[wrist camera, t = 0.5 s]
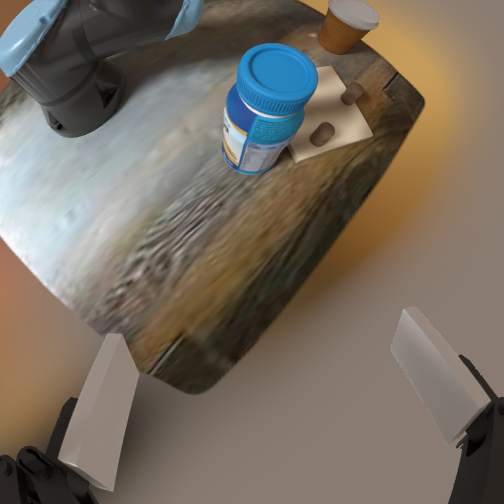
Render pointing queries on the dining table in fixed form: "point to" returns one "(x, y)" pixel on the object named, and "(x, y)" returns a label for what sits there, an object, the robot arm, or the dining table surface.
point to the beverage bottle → (266, 106)
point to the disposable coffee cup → (346, 24)
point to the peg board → (330, 118)
